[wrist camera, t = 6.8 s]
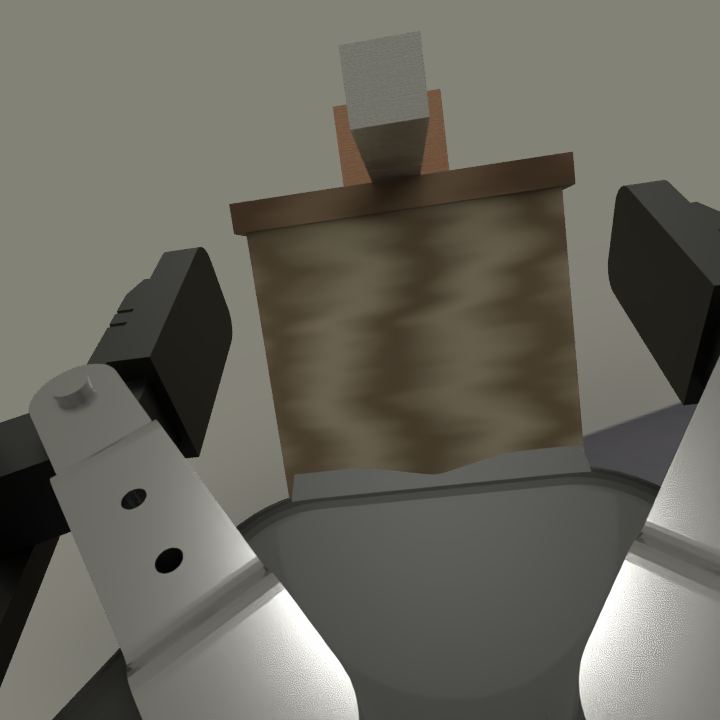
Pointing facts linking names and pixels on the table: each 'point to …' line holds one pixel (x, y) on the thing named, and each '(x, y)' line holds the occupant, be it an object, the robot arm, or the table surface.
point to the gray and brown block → (388, 112)
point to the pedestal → (418, 318)
